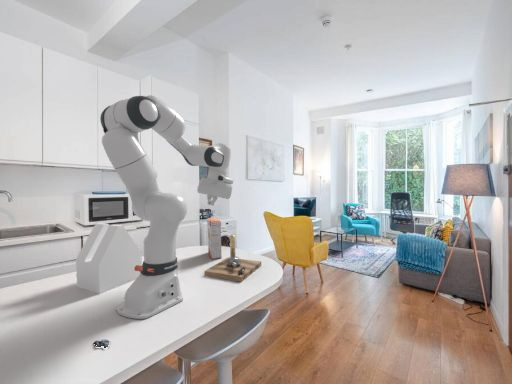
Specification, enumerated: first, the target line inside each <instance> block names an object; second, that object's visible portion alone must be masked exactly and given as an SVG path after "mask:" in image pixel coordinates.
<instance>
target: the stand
mask: <svg viewBox="0 0 512 384" xmlns="http://www.w3.org/2000/svg"><path fill="white" fill-rule="evenodd" d="M229 261H230V257H226V258H224V259H223V260H221V261H219V262H218V263H216V264H214V265H212V266H211V267H209V268H207V269H206V270H203V271H204V272H203V274H204V276H207V277H213V278H218V279H224V280H231V281H236V282H240V283H241V282H242V283H243V281H245V280H246V279H247V278H248V277H249V276H250V275H252V274H253V273H254V272H256V270H258V269H259V268H260V267H261V266H262V261H260V260H252V259H245V258H244V259H242V258H239V261H240V262H241V265H239V266H237V267H232V266H228V265H227V263H228V262H229Z"/></svg>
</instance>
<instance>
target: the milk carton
mask: <svg viewBox="0 0 512 384" xmlns="http://www.w3.org/2000/svg"><path fill="white" fill-rule="evenodd" d="M81 247H82V248H81V249H80V251H79V253H78V255H77V257H76V258H75V267H76V271H75V272H76V287H77V288H79V289H80V288H81V289H82V290H83V289H84V290H87V291H89V292H91V293H96V294H99V295H101V294H104V293H107V292H108V291H111V290H113V289H115V288H116V289H117V288H118V287H121V286H124V285H126V284H128V283H131V282H134V281H135V280H136V278H137V277H138V276H139V275H140V272H139V271H135V269H134V267H135V266H136V265H139V266H142V264H143V260H142V259H143V257H142V256H143V255H142V250H141V249H140V248H139V247H138V245H137V243H136V242H135V240H134V239H133V238H132V236H131V235H130V233H129V232H128V231H127V229H126V228H125V226H124V225H121V224H109V223H105V222H97V223H95V224H94V225H93V227H92V229H91V232H90V233H89V235H88V236H87V238H86V240H85V242H84V244H83V246H81Z"/></svg>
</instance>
